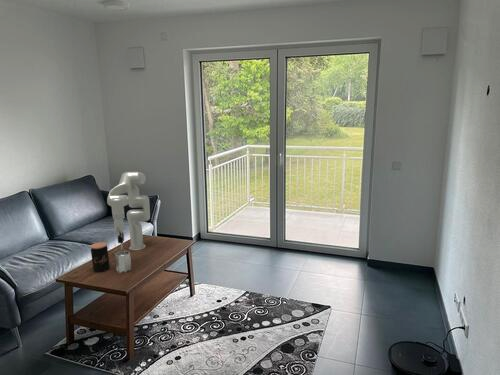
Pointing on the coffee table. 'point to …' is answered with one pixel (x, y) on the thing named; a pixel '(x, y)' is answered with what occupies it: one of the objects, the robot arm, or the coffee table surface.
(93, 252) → the coffee jar
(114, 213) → the robot arm
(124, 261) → the press carafe
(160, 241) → the coffee table surface
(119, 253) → the plunger
